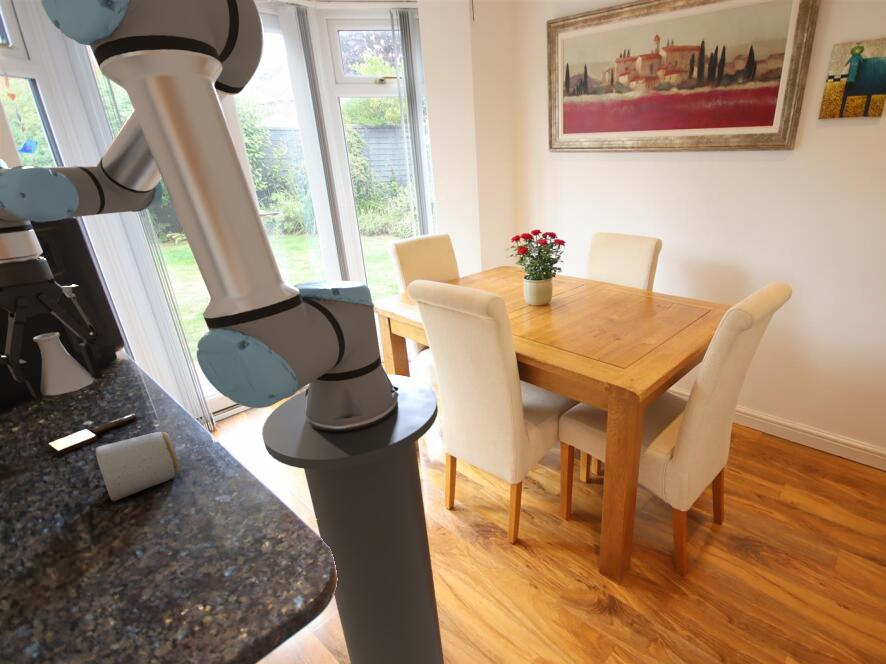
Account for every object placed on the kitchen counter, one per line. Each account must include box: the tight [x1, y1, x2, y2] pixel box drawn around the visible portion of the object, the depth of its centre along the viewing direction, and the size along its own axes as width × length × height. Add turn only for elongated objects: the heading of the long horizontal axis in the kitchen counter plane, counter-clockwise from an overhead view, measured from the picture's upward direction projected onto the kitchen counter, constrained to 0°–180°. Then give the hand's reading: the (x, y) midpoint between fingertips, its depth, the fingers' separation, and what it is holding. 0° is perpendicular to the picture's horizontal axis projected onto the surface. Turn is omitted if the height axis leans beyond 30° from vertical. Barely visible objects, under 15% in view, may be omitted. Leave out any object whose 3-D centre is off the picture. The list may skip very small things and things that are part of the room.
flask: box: [32, 332, 96, 396], centre depth 81 cm, size 7×7×10 cm
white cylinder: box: [95, 431, 181, 502], centre depth 66 cm, size 11×8×8 cm
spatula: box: [48, 413, 138, 456], centre depth 79 cm, size 12×4×1 cm, turn 149°
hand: (68, 386), depth 82 cm, fingers closed on flask, 8 cm apart
